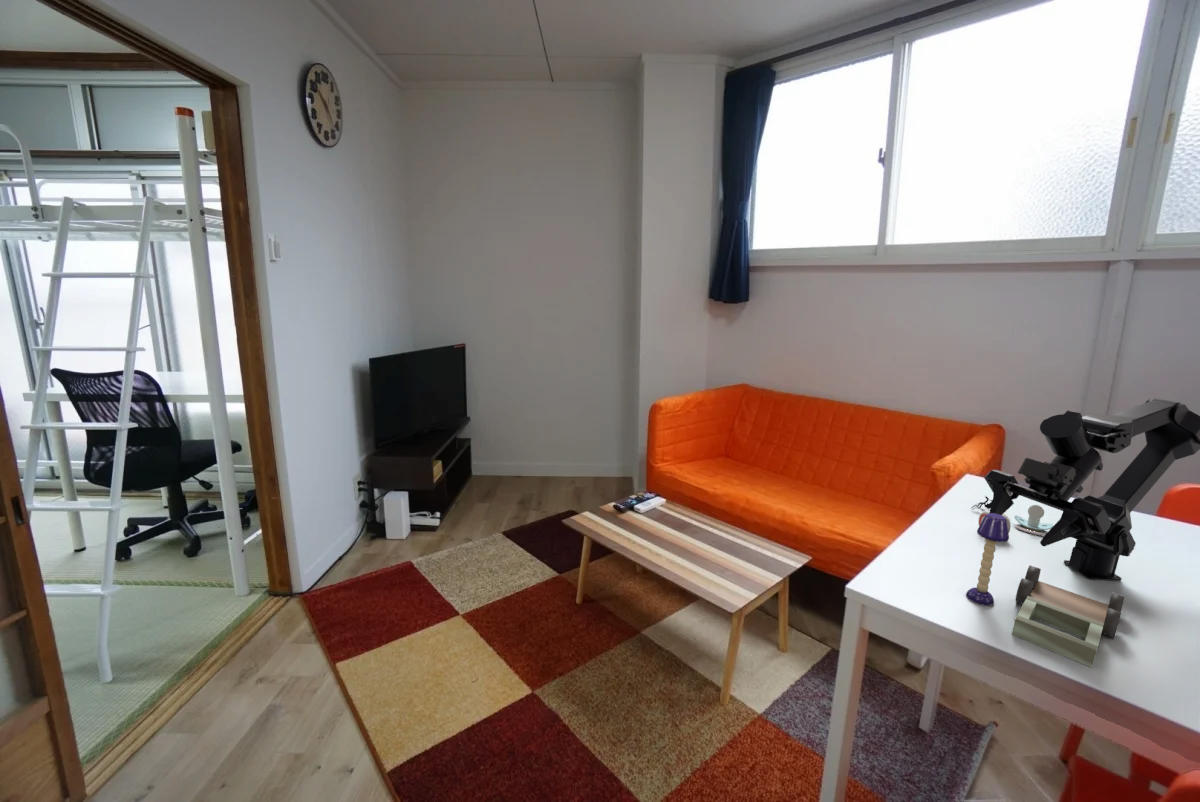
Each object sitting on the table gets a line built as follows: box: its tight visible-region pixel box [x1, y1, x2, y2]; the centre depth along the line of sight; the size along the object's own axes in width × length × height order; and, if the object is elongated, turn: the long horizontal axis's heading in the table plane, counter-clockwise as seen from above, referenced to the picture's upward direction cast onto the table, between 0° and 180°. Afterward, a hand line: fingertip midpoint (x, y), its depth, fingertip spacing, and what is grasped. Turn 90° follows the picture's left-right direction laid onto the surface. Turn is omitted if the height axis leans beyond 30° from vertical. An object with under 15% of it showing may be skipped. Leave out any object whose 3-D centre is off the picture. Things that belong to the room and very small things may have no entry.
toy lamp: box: [965, 513, 1010, 607], centre depth 95 cm, size 5×5×17 cm
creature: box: [971, 496, 993, 511], centre depth 134 cm, size 8×5×8 cm
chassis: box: [1011, 565, 1125, 668], centre depth 90 cm, size 22×13×4 cm, turn 132°
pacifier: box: [1014, 504, 1055, 537], centre depth 124 cm, size 7×6×6 cm
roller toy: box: [978, 510, 1011, 533], centre depth 121 cm, size 4×6×6 cm
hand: (1014, 532), depth 96 cm, fingers open, 9 cm apart
